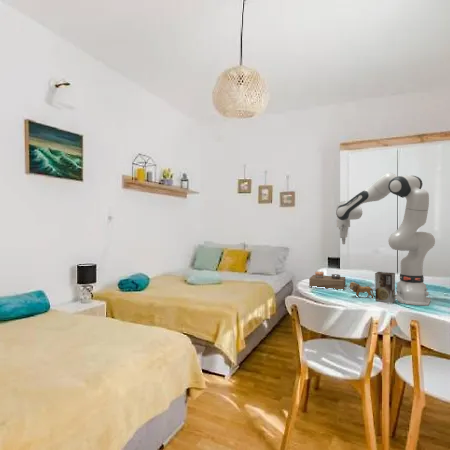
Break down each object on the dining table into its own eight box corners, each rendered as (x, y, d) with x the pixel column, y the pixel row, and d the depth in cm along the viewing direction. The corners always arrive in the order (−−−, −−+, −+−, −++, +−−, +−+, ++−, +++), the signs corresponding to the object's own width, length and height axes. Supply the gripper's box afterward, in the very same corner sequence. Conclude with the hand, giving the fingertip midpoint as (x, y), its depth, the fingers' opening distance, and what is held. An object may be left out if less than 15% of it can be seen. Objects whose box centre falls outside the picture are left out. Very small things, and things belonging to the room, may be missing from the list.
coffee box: (395, 301, 178) (395, 272, 178) (392, 303, 174) (392, 274, 173) (378, 298, 184) (378, 271, 184) (374, 300, 180) (374, 272, 179)
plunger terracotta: (322, 284, 218) (322, 273, 218) (314, 283, 220) (314, 272, 220) (324, 283, 223) (324, 271, 223) (316, 282, 225) (315, 271, 225)
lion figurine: (349, 297, 188) (349, 282, 188) (349, 295, 193) (349, 280, 193) (376, 299, 183) (376, 284, 183) (375, 297, 188) (375, 282, 188)
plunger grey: (339, 287, 213) (339, 275, 213) (331, 286, 216) (331, 275, 215) (340, 285, 218) (340, 274, 218) (332, 285, 221) (332, 273, 221)
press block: (343, 290, 207) (343, 281, 207) (309, 287, 217) (309, 278, 217) (345, 285, 222) (345, 276, 222) (313, 283, 231) (313, 274, 231)
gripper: (347, 224, 212) (347, 245, 211) (348, 224, 230) (349, 243, 230) (337, 224, 214) (337, 244, 214) (339, 224, 233) (340, 243, 233)
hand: (343, 244), depth 222 cm, fingers closed
